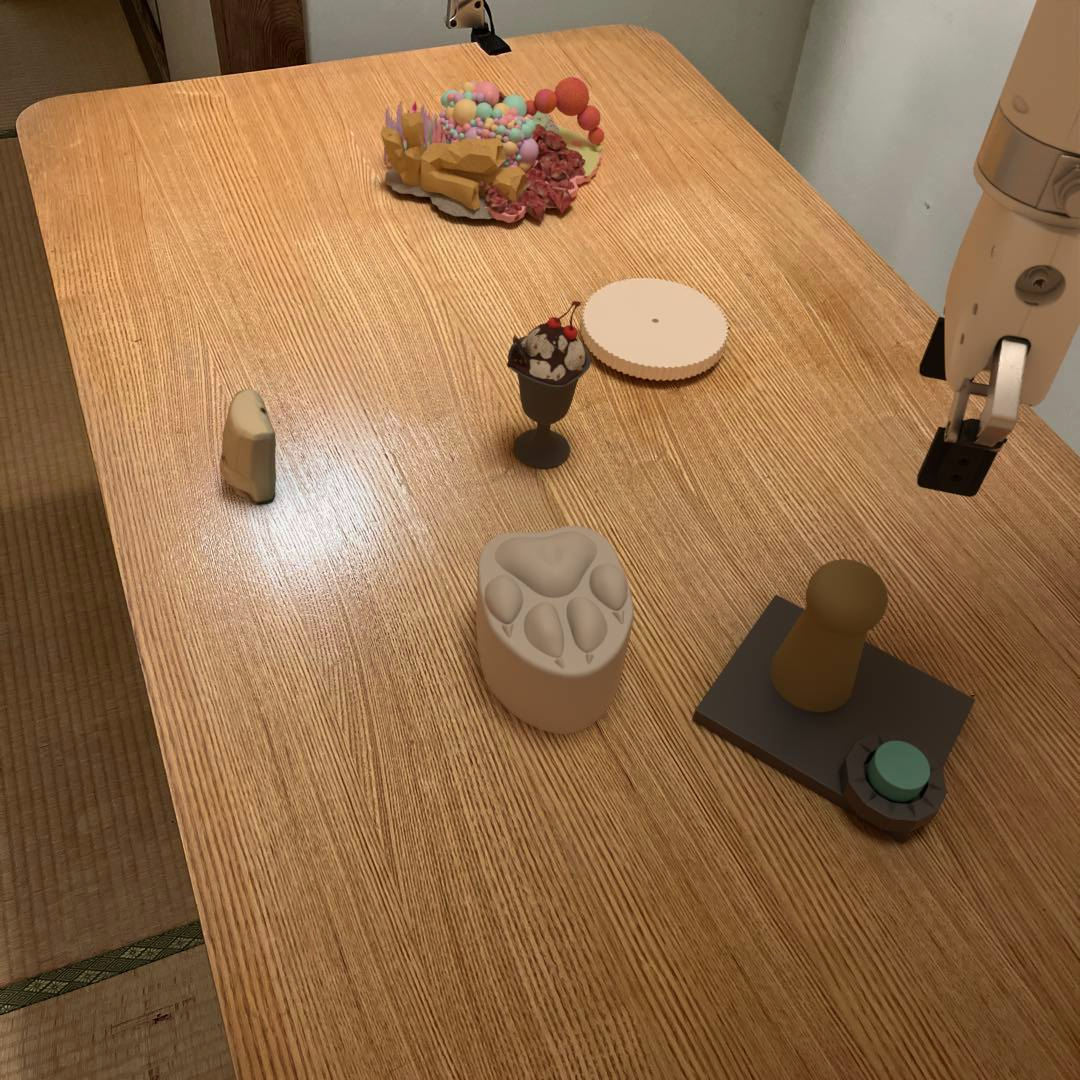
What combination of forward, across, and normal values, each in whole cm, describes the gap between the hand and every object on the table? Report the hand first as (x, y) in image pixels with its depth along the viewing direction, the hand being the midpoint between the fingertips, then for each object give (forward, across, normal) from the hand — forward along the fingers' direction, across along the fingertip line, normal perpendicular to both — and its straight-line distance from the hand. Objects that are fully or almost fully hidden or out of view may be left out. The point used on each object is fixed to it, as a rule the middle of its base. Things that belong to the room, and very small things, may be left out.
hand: (944, 430), depth 62 cm
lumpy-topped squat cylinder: (+24, -5, +21) cm, 32 cm away
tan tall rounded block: (+23, +5, +48) cm, 54 cm away
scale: (+24, -4, 0) cm, 24 cm away
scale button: (+21, -10, -4) cm, 24 cm away
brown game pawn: (+23, -3, +2) cm, 23 cm away
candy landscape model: (+24, +60, +44) cm, 78 cm away
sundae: (+24, +16, +27) cm, 39 cm away
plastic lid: (+24, +34, +20) cm, 46 cm away
